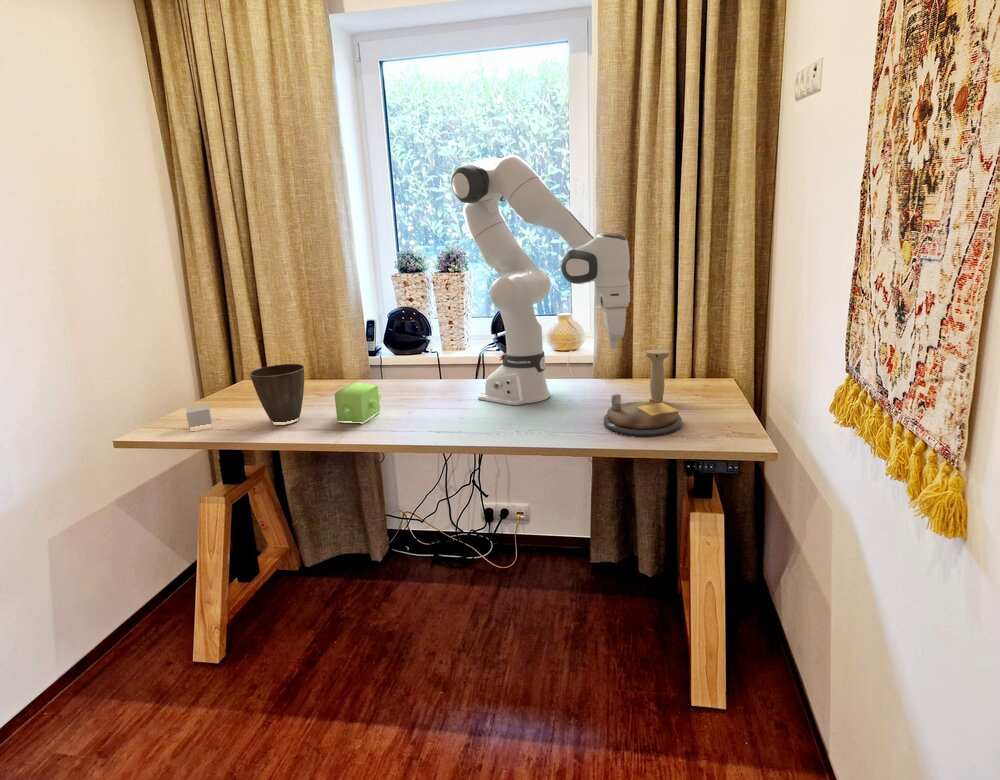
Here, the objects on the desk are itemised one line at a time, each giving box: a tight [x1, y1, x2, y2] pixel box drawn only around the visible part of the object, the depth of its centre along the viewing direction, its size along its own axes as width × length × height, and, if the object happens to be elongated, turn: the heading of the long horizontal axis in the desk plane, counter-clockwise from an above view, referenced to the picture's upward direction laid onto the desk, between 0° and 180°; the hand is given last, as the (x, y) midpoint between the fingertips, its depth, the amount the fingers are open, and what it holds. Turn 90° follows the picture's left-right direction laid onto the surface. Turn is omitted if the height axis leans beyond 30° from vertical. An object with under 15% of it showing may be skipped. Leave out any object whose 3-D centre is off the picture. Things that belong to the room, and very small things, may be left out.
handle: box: [645, 349, 670, 403], centre depth 179 cm, size 5×6×15 cm
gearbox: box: [334, 382, 382, 422], centre depth 181 cm, size 18×10×10 cm, turn 163°
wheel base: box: [603, 398, 683, 438], centre depth 164 cm, size 20×21×4 cm
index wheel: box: [606, 393, 680, 429], centre depth 163 cm, size 18×18×6 cm
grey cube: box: [185, 404, 213, 428], centre depth 184 cm, size 6×6×6 cm
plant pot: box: [249, 363, 305, 422], centre depth 182 cm, size 15×15×16 cm
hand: (613, 347), depth 167 cm, fingers closed
